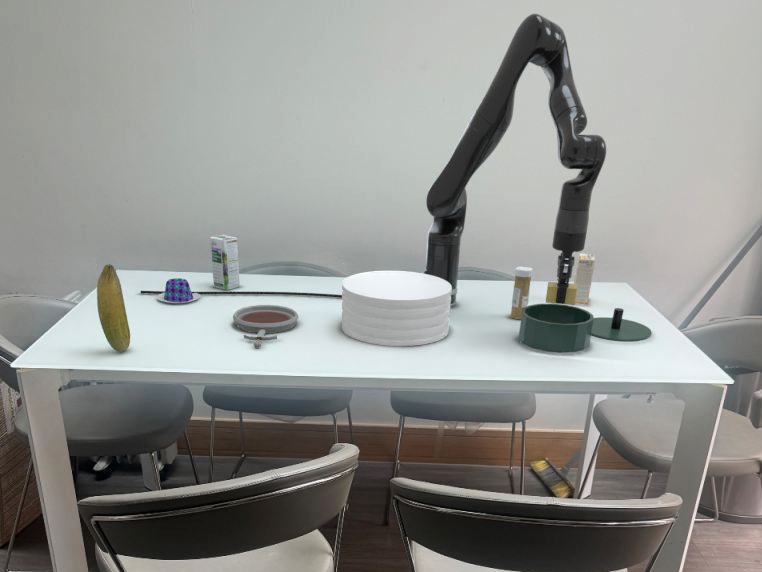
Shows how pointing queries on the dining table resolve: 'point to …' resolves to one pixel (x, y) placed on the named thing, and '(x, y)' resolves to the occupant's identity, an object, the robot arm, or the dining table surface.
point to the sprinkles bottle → (520, 291)
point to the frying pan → (265, 321)
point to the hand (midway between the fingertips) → (560, 300)
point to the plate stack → (396, 307)
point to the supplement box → (584, 277)
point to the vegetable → (112, 309)
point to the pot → (555, 327)
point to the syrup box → (225, 262)
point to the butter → (553, 292)
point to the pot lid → (619, 328)
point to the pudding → (178, 292)
